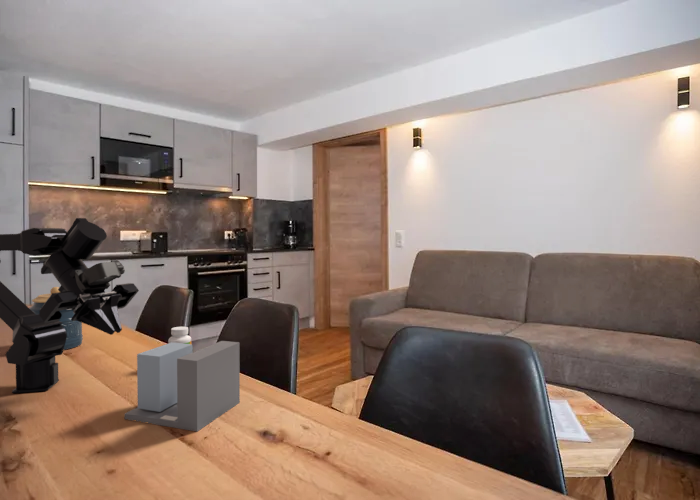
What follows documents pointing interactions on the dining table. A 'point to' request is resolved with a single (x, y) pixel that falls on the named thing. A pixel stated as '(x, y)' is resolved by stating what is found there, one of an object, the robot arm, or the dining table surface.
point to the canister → (62, 320)
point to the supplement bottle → (180, 335)
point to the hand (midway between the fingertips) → (116, 332)
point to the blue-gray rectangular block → (159, 375)
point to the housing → (200, 388)
